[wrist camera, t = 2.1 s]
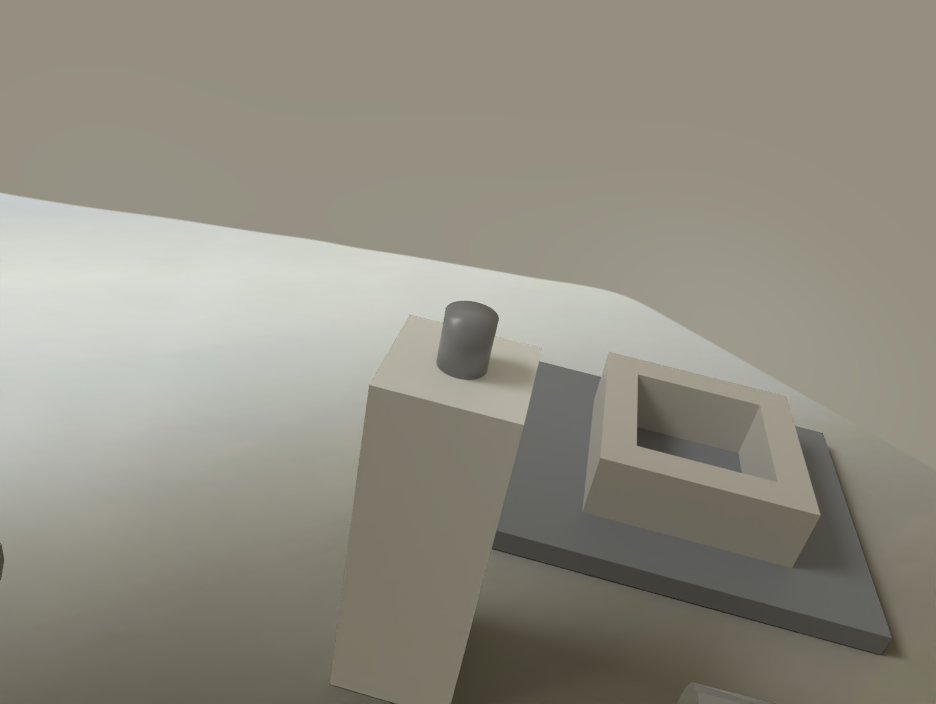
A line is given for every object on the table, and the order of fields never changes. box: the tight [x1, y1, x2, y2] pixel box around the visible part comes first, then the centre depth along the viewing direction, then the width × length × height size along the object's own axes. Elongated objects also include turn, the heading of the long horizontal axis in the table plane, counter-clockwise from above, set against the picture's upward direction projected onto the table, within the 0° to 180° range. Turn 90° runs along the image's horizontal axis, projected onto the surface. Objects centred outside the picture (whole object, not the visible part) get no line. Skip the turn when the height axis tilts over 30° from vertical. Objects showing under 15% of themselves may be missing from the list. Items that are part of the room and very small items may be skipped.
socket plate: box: [492, 352, 892, 655], centre depth 37 cm, size 16×14×4 cm
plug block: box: [330, 301, 542, 704], centre depth 24 cm, size 4×4×14 cm
